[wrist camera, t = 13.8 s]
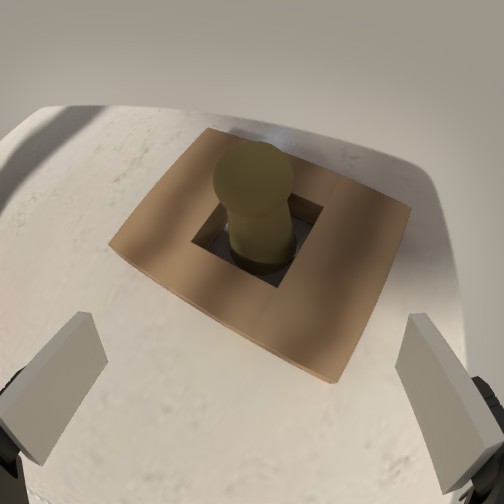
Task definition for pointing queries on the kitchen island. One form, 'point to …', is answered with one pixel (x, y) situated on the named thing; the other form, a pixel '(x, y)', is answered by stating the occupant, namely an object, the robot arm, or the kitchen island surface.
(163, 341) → the kitchen island surface
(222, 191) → the cork
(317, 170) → the wooden block with hole
